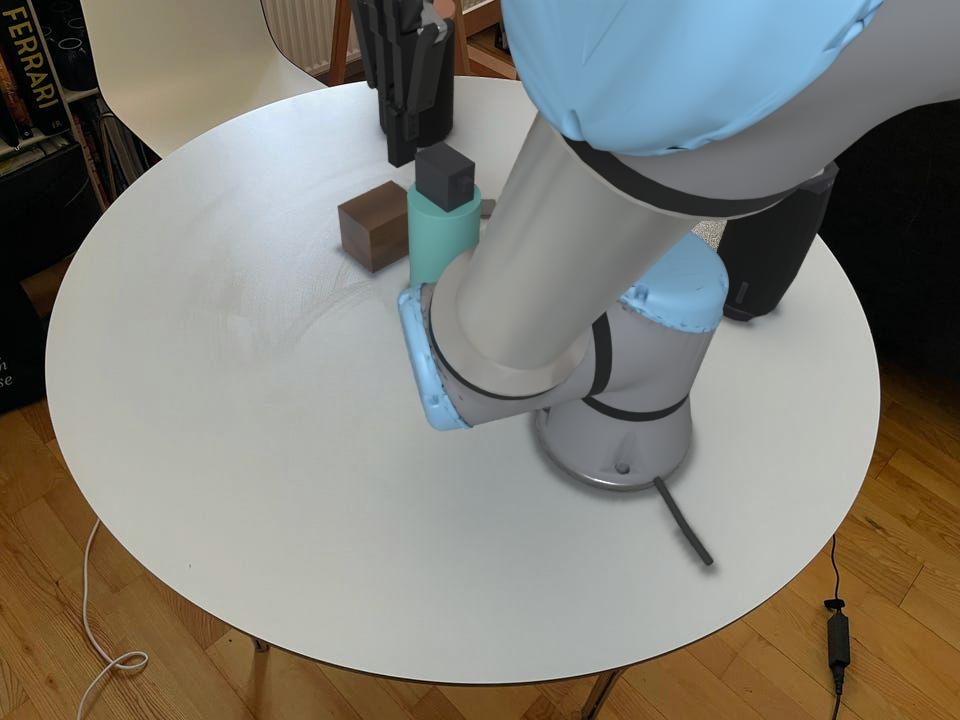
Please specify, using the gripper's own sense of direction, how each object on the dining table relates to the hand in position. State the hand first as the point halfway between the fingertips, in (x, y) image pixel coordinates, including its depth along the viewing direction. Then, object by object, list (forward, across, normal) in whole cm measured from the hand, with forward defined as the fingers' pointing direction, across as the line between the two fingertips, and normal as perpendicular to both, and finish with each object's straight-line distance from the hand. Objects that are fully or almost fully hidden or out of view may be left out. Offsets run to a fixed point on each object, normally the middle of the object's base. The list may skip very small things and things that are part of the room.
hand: (402, 160), depth 80 cm
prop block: (+15, +5, 0) cm, 15 cm away
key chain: (+15, -3, -16) cm, 22 cm away
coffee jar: (+15, +22, -20) cm, 33 cm away
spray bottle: (+14, -2, 0) cm, 15 cm away
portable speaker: (+15, -30, -26) cm, 43 cm away
